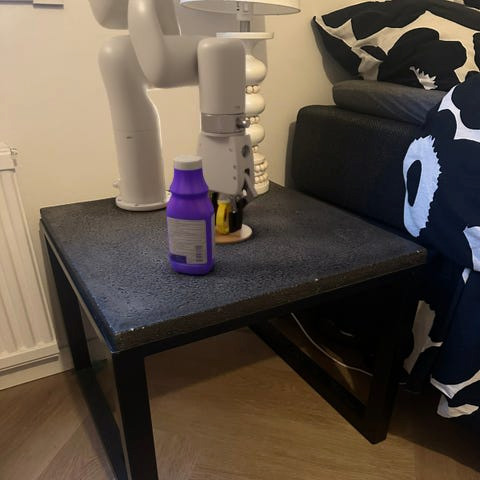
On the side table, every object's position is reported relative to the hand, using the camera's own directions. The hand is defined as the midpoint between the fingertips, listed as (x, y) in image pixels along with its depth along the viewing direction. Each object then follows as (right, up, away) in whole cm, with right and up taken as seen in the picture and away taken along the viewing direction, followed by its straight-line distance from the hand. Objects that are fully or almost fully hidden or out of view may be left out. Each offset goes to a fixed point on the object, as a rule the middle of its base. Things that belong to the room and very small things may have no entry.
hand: (225, 226), depth 88 cm
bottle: (-5, -9, -12) cm, 16 cm away
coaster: (0, -1, +1) cm, 1 cm away
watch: (0, -1, 0) cm, 1 cm away
